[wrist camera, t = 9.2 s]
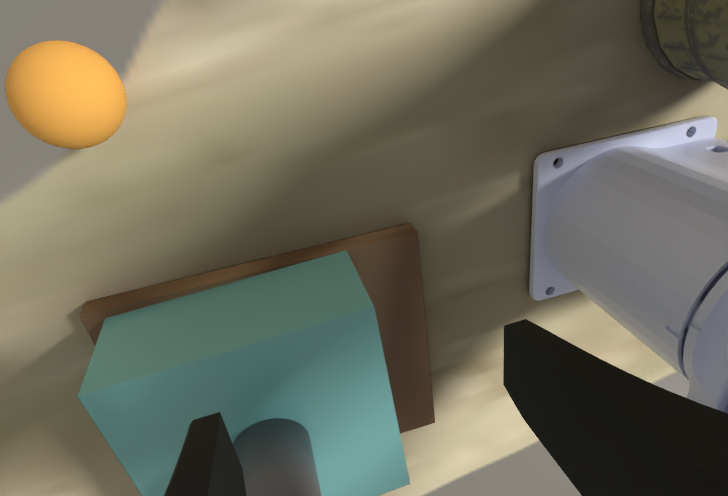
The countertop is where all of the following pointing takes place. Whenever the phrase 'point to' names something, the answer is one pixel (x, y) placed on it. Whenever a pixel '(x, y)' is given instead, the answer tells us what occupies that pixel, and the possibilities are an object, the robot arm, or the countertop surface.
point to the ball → (65, 94)
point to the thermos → (689, 37)
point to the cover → (255, 383)
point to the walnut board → (382, 282)
